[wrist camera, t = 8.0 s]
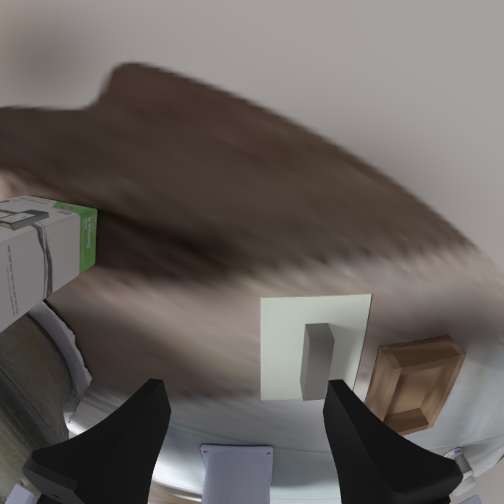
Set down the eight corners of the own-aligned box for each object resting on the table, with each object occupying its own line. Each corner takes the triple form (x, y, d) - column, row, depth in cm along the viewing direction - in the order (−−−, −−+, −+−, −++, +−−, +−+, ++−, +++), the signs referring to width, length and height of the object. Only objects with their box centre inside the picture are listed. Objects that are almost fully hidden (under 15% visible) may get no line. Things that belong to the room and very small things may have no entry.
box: (421, 407, 25) (432, 426, 22) (358, 420, 25) (366, 443, 22) (448, 335, 22) (466, 353, 19) (379, 346, 22) (393, 369, 19)
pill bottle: (432, 463, 29) (448, 499, 21) (454, 445, 28) (473, 481, 20) (444, 465, 30) (459, 497, 22) (464, 448, 29) (482, 480, 21)
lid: (349, 388, 25) (357, 412, 21) (260, 394, 25) (260, 419, 22) (368, 290, 22) (383, 308, 19) (260, 293, 22) (261, 313, 19)
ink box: (100, 207, 20) (-17, 247, 8) (96, 267, 21) (-1, 340, 10) (27, 193, 19) (-76, 219, 8) (26, 246, 21) (-66, 291, 9)
